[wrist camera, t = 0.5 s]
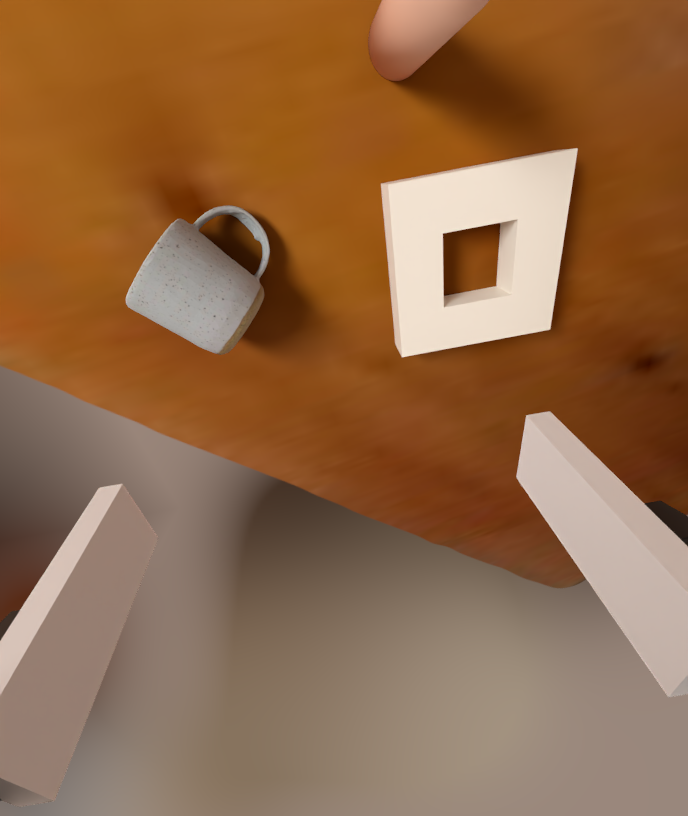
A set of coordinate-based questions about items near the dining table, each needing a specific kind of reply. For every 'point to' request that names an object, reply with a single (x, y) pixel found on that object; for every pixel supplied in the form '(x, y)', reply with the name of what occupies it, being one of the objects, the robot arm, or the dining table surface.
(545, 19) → the dining table surface
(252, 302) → the ceramic mug
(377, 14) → the peg
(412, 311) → the socket block
